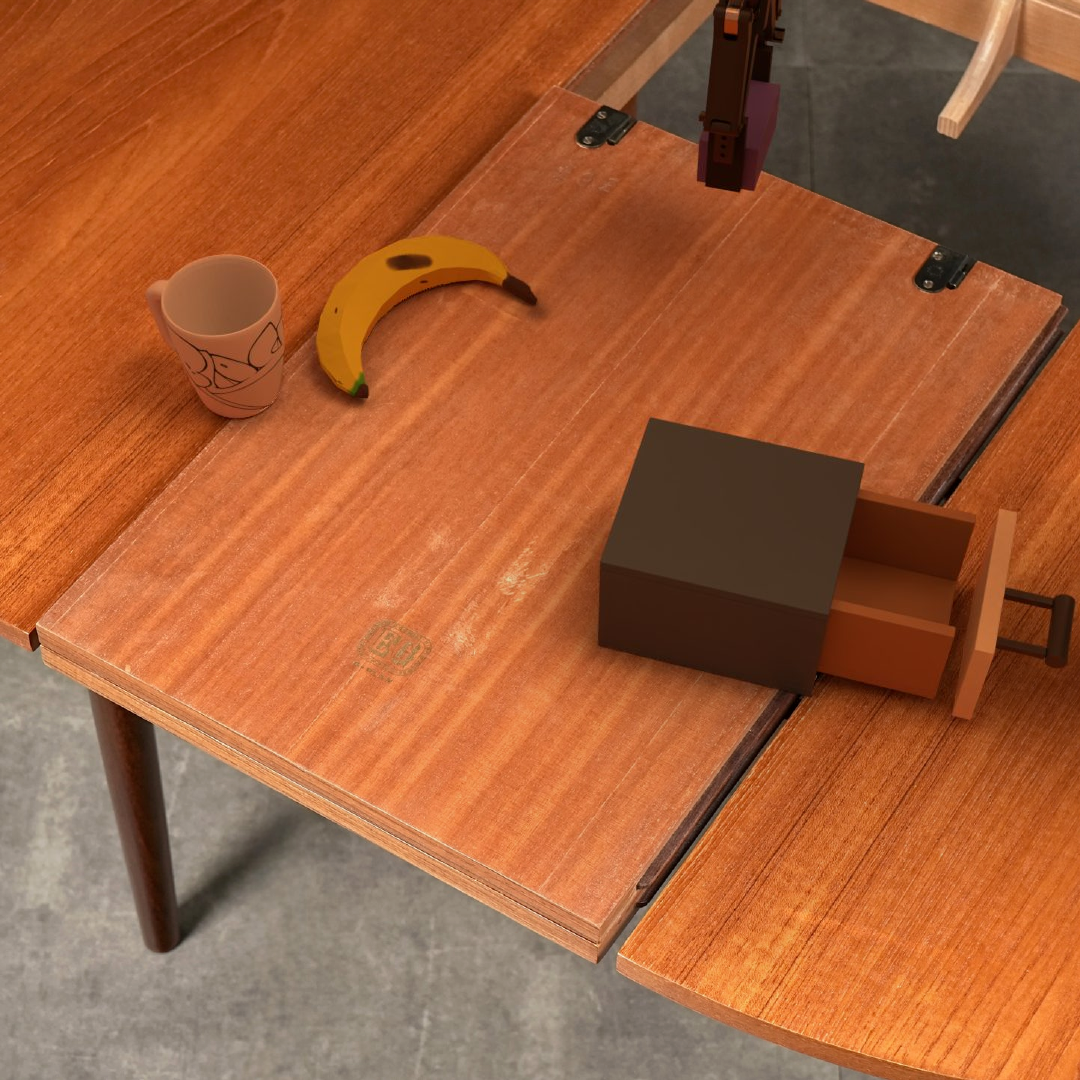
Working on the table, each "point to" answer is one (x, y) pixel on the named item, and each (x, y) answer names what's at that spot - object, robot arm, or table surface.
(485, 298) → the table surface
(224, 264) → the mug
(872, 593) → the drawer
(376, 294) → the banana
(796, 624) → the cabinet
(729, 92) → the robot arm
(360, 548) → the table surface
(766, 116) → the purple block
